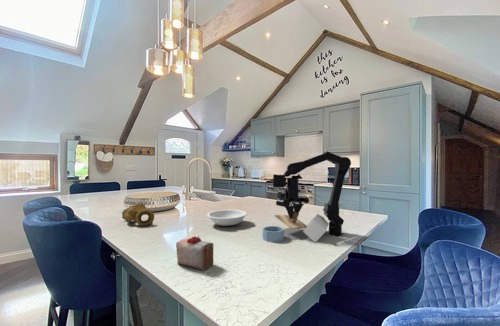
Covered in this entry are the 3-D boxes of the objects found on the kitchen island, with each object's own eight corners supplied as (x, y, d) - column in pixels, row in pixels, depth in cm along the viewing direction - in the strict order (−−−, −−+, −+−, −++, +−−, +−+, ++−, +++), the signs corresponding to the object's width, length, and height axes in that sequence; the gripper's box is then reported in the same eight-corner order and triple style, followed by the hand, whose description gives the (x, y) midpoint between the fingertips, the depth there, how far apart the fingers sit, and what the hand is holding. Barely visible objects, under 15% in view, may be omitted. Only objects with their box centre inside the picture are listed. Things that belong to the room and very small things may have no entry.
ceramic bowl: (273, 234, 114) (273, 225, 114) (287, 240, 106) (287, 229, 106) (258, 238, 108) (258, 228, 108) (272, 244, 100) (271, 233, 100)
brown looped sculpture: (155, 206, 156) (158, 206, 136) (149, 225, 152) (151, 227, 133) (126, 199, 149) (125, 198, 129) (119, 219, 145) (116, 221, 125)
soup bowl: (202, 222, 140) (202, 211, 140) (238, 218, 150) (238, 208, 150) (213, 232, 118) (213, 220, 118) (254, 227, 128) (254, 215, 128)
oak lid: (291, 216, 124) (294, 207, 123) (309, 228, 114) (312, 218, 113) (274, 216, 117) (277, 206, 116) (291, 229, 106) (295, 218, 105)
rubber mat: (293, 227, 126) (293, 226, 126) (316, 234, 113) (316, 233, 113) (271, 233, 117) (271, 232, 117) (294, 241, 104) (294, 240, 104)
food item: (172, 264, 81) (172, 237, 81) (188, 256, 88) (187, 231, 88) (202, 272, 75) (202, 243, 75) (216, 263, 82) (216, 236, 82)
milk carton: (314, 243, 102) (320, 231, 119) (325, 232, 100) (329, 221, 117) (302, 231, 104) (310, 221, 121) (312, 220, 102) (318, 212, 119)
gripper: (293, 185, 127) (294, 212, 127) (268, 187, 116) (269, 217, 116) (309, 186, 118) (309, 216, 118) (283, 189, 107) (284, 222, 107)
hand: (293, 218), depth 115 cm, fingers closed on oak lid, 3 cm apart
